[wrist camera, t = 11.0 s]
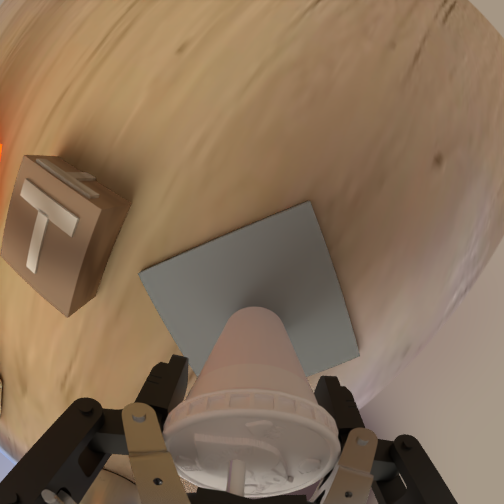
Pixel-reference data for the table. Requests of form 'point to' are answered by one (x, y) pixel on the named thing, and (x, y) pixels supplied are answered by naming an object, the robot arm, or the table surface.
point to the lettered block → (61, 230)
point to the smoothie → (252, 415)
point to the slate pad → (257, 289)
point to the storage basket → (0, 394)
